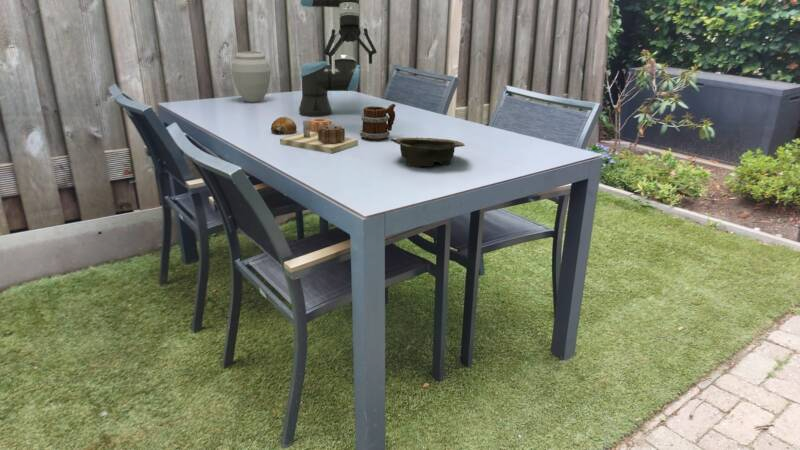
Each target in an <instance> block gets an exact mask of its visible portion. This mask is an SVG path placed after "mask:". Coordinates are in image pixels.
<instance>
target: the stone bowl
mask: <svg viewBox="0 0 800 450" xmlns="http://www.w3.org/2000/svg"><path fill="white" fill-rule="evenodd" d="M390 142H393V143H395V144H397V145H399V146H400V147H399V149H400V154H401V157H402V158H403V159H405V161H406V165H407V166H409V167H416V168H421V167H431V166H432V167H433V166H434V165H435V162H436V163H439V164H440V165H443V166H444V165H445V166H446V165H450V164H451V163H452V161H453V158H454V154H455V151H456V150H455V149H456V148H458V147H460V148H461V147H465V146H466V145H465V143H463V142H461V141H459V140H452V139H449V138H447V139H445V138H436V137H435V138H434V137H397V138H392V139H390Z"/></svg>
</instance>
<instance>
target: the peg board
mask: <svg viewBox="0 0 800 450" xmlns="http://www.w3.org/2000/svg"><path fill="white" fill-rule="evenodd" d="M302 129H303V131H302V132H299V133H294V134H290V135H289V136H285V137H282V138H279V144H280V145H283V146H288V145H289V147H295V148H299V147H300V149H305V150H310V151H315V152H316V151H317V152H321V153H327V154H331V155H332V154H335V153H338V152H341V151H343V150H347V149H350V148H352V147H355V146H359V145H358V144H359V139H358V138H353V137H345V136H346V134H345V131H346V129H345V127H342V126H340V125H336V124H334V123H332V124H329V125H328V126H322V127H320V129H318V133H316V132H310V121H309V120H302Z"/></svg>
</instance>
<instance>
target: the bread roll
mask: <svg viewBox="0 0 800 450" xmlns="http://www.w3.org/2000/svg"><path fill="white" fill-rule="evenodd" d="M297 130H298V129H297V124H296V122H295V121H294V119H292V118H290V117H288V116H280V117H278V118H276V119H274V121H273V122H272V124H271V127H270V131H271V133H272V134H273V135H274V134H275V135H278V136H279V135H280V136H281V135H285V134H286V135H293V134H296V133H297ZM286 135H285V136H286Z"/></svg>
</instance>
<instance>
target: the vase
mask: <svg viewBox="0 0 800 450" xmlns="http://www.w3.org/2000/svg"><path fill="white" fill-rule="evenodd" d="M230 69H231V70H230V71H231V75H232V79H233V83H234V85H235V87H236V90H237V92H238V93H239V95H240V97H241V98H242V99H243V100H244V101H245V102H247V103H260V102H261V101H263V100H264V98H265V96H266V95H267V92H268V89H269V86H270V83H271V74H272V73H271V71H272V70H271V69H272V68H271V66H270V63H269V61H268V60H267V59H266V55H265V54H264V53H262V51H255V50H254V51H252V50H250V51H238V52H237V53H236V54H235V55H234V59H233V61H232V62H231V68H230Z"/></svg>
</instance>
